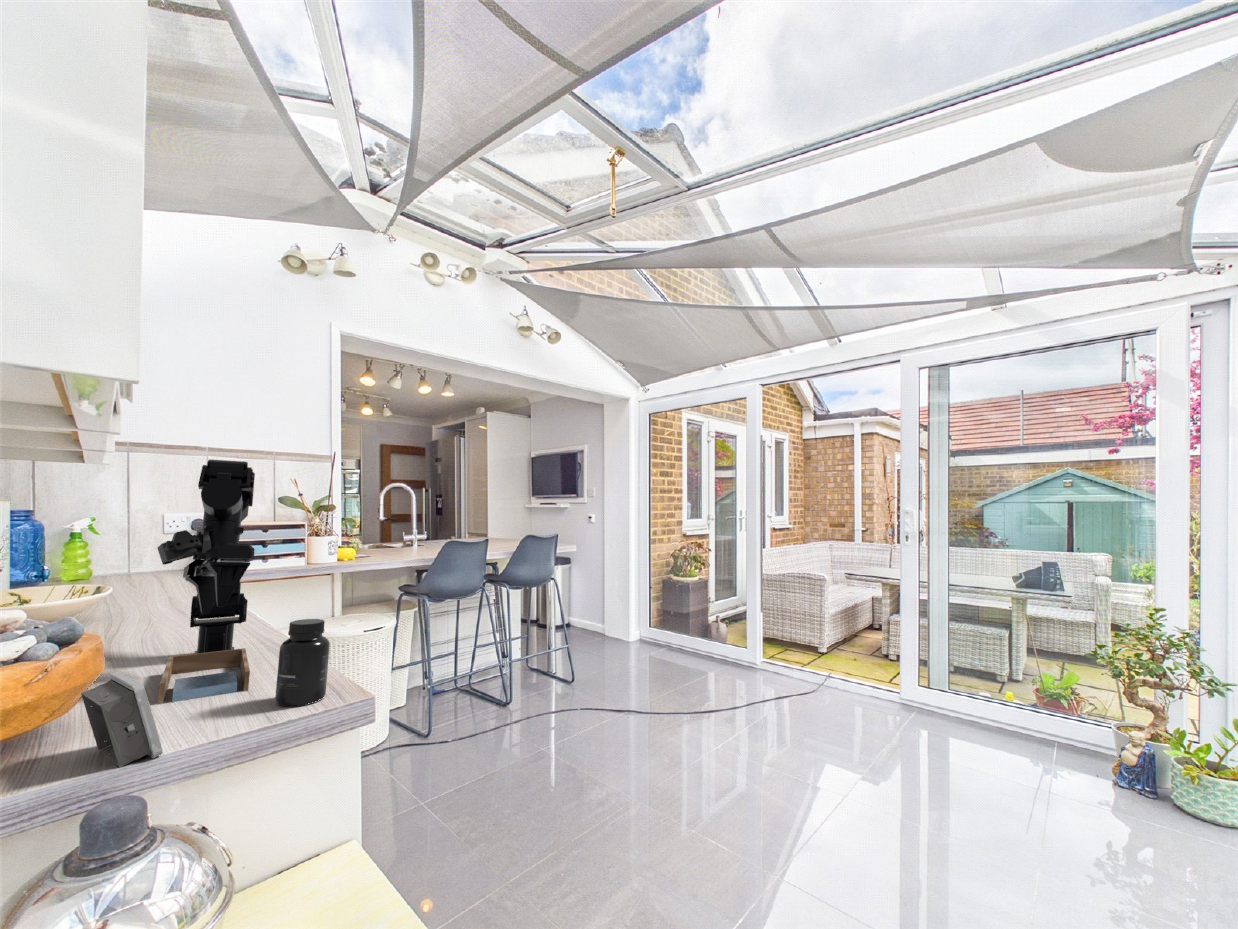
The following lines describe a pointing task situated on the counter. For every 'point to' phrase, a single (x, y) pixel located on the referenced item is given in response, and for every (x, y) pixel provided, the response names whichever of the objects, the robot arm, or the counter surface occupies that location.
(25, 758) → the counter surface
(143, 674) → the counter surface
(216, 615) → the robot arm
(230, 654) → the open box
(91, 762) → the counter surface
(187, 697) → the cover plate
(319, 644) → the supplement bottle
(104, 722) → the electrical switch
